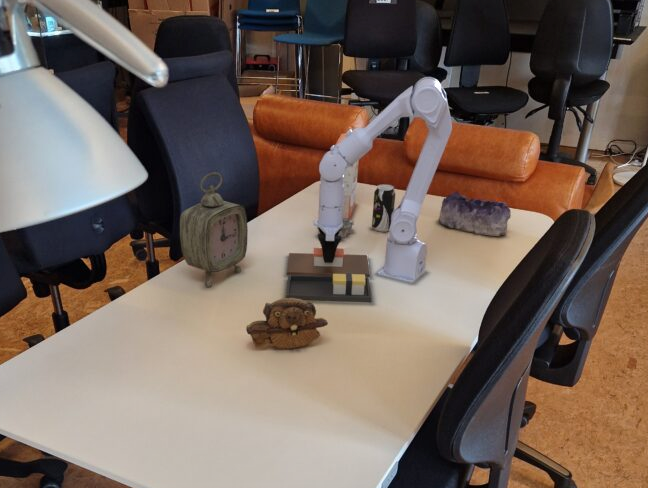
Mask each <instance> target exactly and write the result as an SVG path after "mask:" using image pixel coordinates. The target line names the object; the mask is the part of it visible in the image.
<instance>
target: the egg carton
mask: <svg viewBox="0 0 648 488" xmlns="http://www.w3.org/2000/svg"><path fill="white" fill-rule="evenodd" d="M342 222H343V226H342V228H341V230H340V232H339V234H338V236H342V238H341V240H343V238H346V237H347V235H348V234H352V233H353V226H355V221H354V220H352V221H350V219H345V218H342ZM316 230H317V235H318V234H320V231H319V229H318V226H316Z"/></svg>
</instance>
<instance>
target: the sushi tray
mask: <svg viewBox="0 0 648 488" xmlns="http://www.w3.org/2000/svg"><path fill="white" fill-rule="evenodd" d="M365 281H366V283H365V285H364V295H345V294H333V276H314V275H287V283H286V292H285V293H286V294H285V298H295V299H301V300H304V301H306V302H308V301H312V302H339V303H346V302H347V303H372V290H371V283H370V278H369V277H365Z"/></svg>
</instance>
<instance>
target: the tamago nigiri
mask: <svg viewBox="0 0 648 488" xmlns="http://www.w3.org/2000/svg"><path fill="white" fill-rule="evenodd" d="M365 283H366V281H365V275H364V274H351V273H346V274H333V294H345V295H364V285H365Z"/></svg>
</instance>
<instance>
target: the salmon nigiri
mask: <svg viewBox="0 0 648 488" xmlns="http://www.w3.org/2000/svg"><path fill="white" fill-rule="evenodd" d="M344 252H345V251H344V248H339V247H337V249H336V252H335V257H334V260H333V263H325V262H324V259H323V251H322V247H313V253H312V254H313V257H314V266H332V267H342V265H343V258H344V254H345V253H344Z"/></svg>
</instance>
